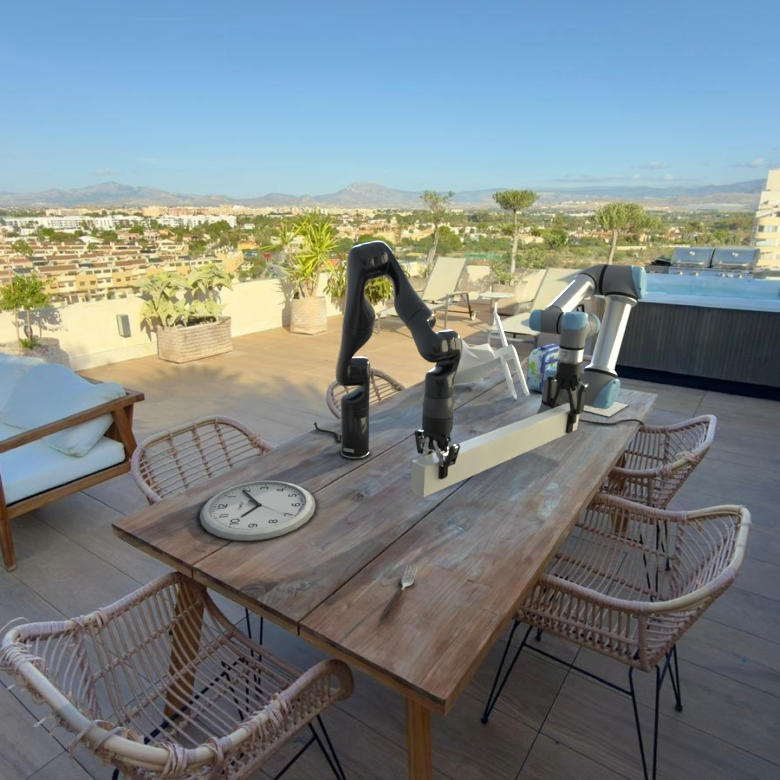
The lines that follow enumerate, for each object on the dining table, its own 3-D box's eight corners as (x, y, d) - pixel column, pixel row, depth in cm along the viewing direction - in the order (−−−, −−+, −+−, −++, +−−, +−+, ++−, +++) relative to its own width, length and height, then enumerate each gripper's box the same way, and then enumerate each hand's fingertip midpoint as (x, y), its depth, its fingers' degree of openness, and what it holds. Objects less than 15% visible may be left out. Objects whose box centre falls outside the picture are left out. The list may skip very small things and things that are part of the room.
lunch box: (542, 396, 239) (547, 351, 232) (522, 391, 246) (526, 347, 240) (570, 385, 256) (575, 343, 250) (550, 380, 263) (554, 339, 257)
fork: (380, 619, 101) (380, 610, 101) (406, 571, 116) (406, 563, 115) (393, 622, 101) (393, 614, 100) (417, 574, 115) (417, 566, 114)
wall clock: (312, 532, 127) (184, 536, 124) (312, 538, 127) (185, 542, 125) (317, 476, 155) (214, 478, 153) (318, 481, 156) (214, 483, 153)
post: (564, 425, 178) (567, 402, 176) (577, 429, 175) (580, 406, 172) (410, 490, 132) (411, 460, 130) (423, 497, 129) (425, 467, 126)
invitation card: (608, 416, 214) (573, 407, 224) (608, 416, 214) (573, 408, 224) (628, 404, 229) (594, 396, 238) (628, 405, 229) (594, 397, 238)
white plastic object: (461, 429, 252) (437, 405, 227) (444, 352, 274) (420, 323, 250) (535, 404, 240) (518, 377, 215) (510, 326, 262) (492, 293, 237)
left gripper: (406, 407, 131) (405, 468, 136) (448, 423, 120) (445, 489, 126) (428, 401, 135) (425, 461, 141) (470, 416, 125) (466, 480, 130)
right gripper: (538, 357, 169) (532, 424, 177) (589, 369, 156) (579, 440, 164) (552, 354, 174) (545, 419, 181) (602, 365, 161) (592, 435, 168)
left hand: (435, 474), depth 133 cm, fingers closed on post, 4 cm apart
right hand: (561, 429), depth 172 cm, fingers closed on post, 5 cm apart
